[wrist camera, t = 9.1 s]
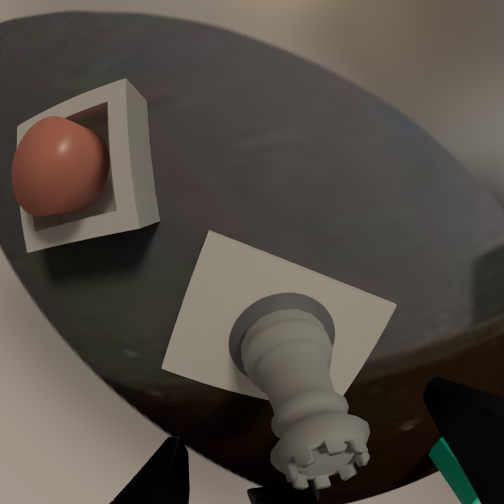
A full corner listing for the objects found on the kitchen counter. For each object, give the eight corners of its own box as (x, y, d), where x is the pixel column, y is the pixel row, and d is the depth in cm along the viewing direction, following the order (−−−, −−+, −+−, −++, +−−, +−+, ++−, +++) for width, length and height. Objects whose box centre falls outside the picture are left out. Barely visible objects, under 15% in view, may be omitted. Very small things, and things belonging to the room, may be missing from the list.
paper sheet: (394, 303, 14) (397, 305, 14) (330, 407, 15) (332, 411, 15) (209, 230, 12) (208, 231, 12) (162, 365, 14) (160, 369, 13)
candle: (427, 462, 20) (466, 521, 8) (428, 445, 19) (476, 513, 7) (464, 435, 20) (507, 487, 8) (469, 413, 18) (522, 471, 7)
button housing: (159, 221, 12) (139, 228, 9) (60, 241, 12) (27, 252, 9) (146, 101, 11) (126, 78, 8) (50, 135, 11) (17, 125, 8)
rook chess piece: (312, 379, 14) (362, 491, 6) (234, 374, 14) (241, 504, 6) (334, 309, 13) (423, 411, 5) (248, 299, 13) (272, 428, 5)
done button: (114, 201, 10) (85, 204, 7) (49, 218, 10) (16, 225, 7) (107, 118, 9) (79, 101, 7) (43, 142, 9) (11, 135, 6)
